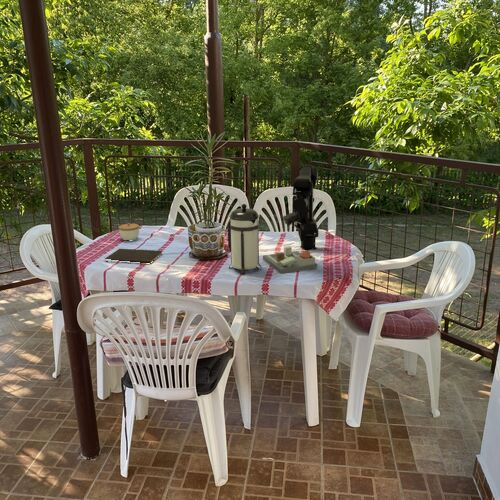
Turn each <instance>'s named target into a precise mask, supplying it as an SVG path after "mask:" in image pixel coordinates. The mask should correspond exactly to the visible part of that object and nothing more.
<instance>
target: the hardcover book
mask: <svg viewBox="0 0 500 500" xmlns="http://www.w3.org/2000/svg"><path fill="white" fill-rule="evenodd" d="M162 253H163V250H155V249H153V250H152V249H149V250H148V249H132V248H131V249H130V248H118V249H117V250H115V251H114V252H112V253H111V254H109V255H108V256H106V257H104V260H105V259H111V260H119V261H130V262H140V263H151V262H152V261H153V260H155V259H156V258H157V257H158V256H160V255H161V254H162ZM161 256H162V255H161ZM161 256H160V257H161ZM158 258H159V257H158ZM158 258H157V259H158ZM157 259H156V260H157ZM156 260H155V261H156ZM152 263H153V262H152ZM152 263H151V264H152Z"/></svg>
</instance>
